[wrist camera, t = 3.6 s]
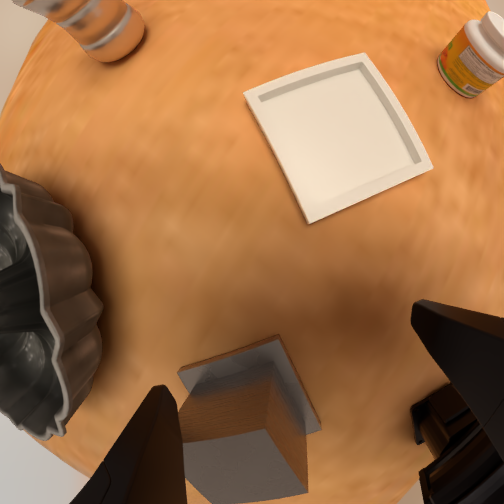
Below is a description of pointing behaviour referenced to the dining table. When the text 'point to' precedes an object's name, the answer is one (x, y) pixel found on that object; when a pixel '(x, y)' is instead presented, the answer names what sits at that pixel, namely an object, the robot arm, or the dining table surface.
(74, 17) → the plastic bottle
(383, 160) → the white tray
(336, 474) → the dining table surface
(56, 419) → the bundt pan
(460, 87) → the supplement bottle
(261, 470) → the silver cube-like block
